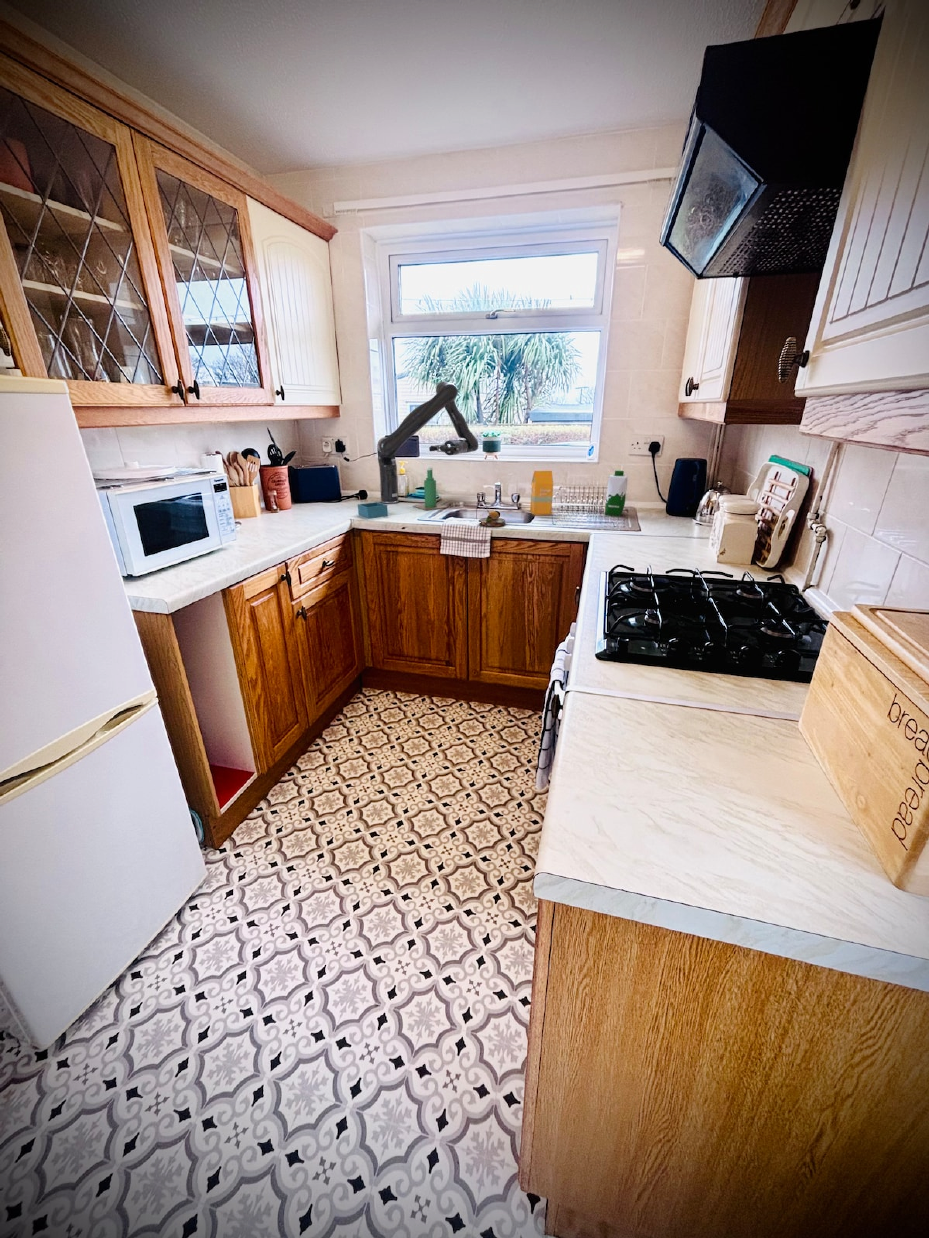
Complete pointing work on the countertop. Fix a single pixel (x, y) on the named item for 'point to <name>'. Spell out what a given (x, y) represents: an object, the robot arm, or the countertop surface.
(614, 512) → the milk carton
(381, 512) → the blue open box
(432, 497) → the bottle
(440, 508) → the board
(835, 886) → the countertop surface
